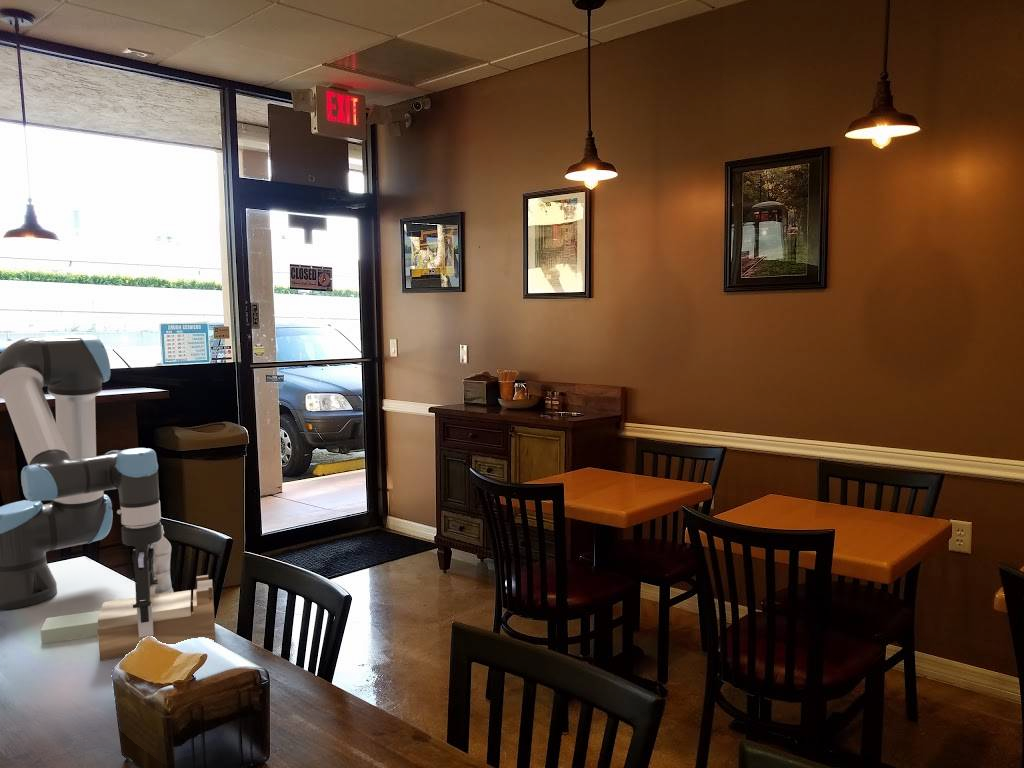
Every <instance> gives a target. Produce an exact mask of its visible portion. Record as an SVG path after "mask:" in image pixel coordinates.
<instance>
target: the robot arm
mask: <svg viewBox="0 0 1024 768" xmlns="http://www.w3.org/2000/svg"><path fill="white" fill-rule="evenodd" d="M111 373H112V372H111V364H110V359H109V355H108V353H107V349H106V347H105V346H104V343H103V342H102V341H101V340H100V338H98V337H97V336H95V335H79V334H77V335H76V334H75V335H64V336H63V335H62V336H61V335H59V336H43V337H27V338H26V337H25V338H22V339H19V340H16V341H15V342H13V343H11V344H10V345H9V346H7V347H6V348H4V350H2V352H1V353H0V398H1V399H3V400H4V402H5V405H6V408H7V411H8V414H9V416H10V417H9V418H10V419H11V422H12V424H13V427H14V431H15V433H16V435H17V438H18V441H19V443H20V444H19V445H20V446H21V449H22V451H23V454H24V457H25V461H26V463H27V465H26V466H24V467H22V470H21V472H20V481H21V487H22V492H23V495H24V497H25V499H23V500H19V501H14V502H11V503H7V504H4V505H2V506H0V610H1V611H2V610H14V609H20V608H25V607H29V606H33V605H37V604H39V603H43V602H46V601H47V600H49V599H51V598H53V597H54V596H56V594H57V592H58V588H57V587H58V585H57V581H56V579H55V577H54V575H53V573H52V571H51V569H50V566H49V564H48V562H47V552H51V551H54V550H60V549H65V548H69V547H71V548H72V547H75V546H79V545H81V546H82V545H85V544H91V543H93V542H97V541H101V540H103V539H105V538H106V537H107V536H108V535H109V533H110V531H111V529H112V525H113V518H114V517H113V512H114V511H113V508H112V507H113V503H112V500H111V498H110V497H109V496H108V494H105V493H104V492H105V491H110V490H118V498H119V509H117V511H116V514H117V515H120V523H121V525H122V527H121V541H122V544H123V545H125V546H128V547H135V549H133V550H132V554H131V560H132V562H133V573H134V581H135V582H134V584H135V586H134V589H135V598H136V604H134V605H133V608H137V617H138V632H139V637H145V636H152V635H154V632H153V617H152V604H151V601H150V596H151V595H155V586H152V585H155V584H158V579H156V580H154V577H155V575H154V569H153V563H154V556H153V555H154V547H152V546H151V543H152V544H153V543H156V542H158V541H159V540H160V539H161V538H162V530H161V525H162V522H161V519H162V511H161V501H160V488H159V487H160V486H159V463H158V457H157V453H156V451H155V450H154V449H152V448H149V447H148V448H146V447H135V448H128V449H123V450H118V449H117V450H115V449H114V450H110V451H107V452H106V453H103V454H102V455H97V434H96V433H97V429H96V427H97V426H96V423H97V421H96V397H97V395H98V394H100V393H101V392H102V390H103V387H102V386H103V383H106V382H108V381H109V380H110V379H111ZM44 387H47V392H48V393H49V395H51V396H52V397H54V399H55V400H54V401H55V402H54V403H55V418H54V415H53V412H52V410H51V408H50V405H49V403H48V400H47V398H46V396H45V393H44V390H43V388H44ZM42 501H51V502H50V503H46V504H43V502H42ZM141 600H145V601H141Z"/></svg>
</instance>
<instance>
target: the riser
mask: <svg viewBox="0 0 1024 768" xmlns="http://www.w3.org/2000/svg"><path fill="white" fill-rule="evenodd" d="M100 612H101V610H95V611H93V610H92V611H87V612H81V613H73V614H67V615H59V616H53V617H52V616H51V617H46V619H45V621H44V623H43V625H42V626H41V629H40V640H41V644H42V645H45V644H53V643H57V642H65V641H70V640H71V641H72V640H79V639H83V638H91V637H98V618H99V615H100Z"/></svg>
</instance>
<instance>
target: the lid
mask: <svg viewBox="0 0 1024 768" xmlns="http://www.w3.org/2000/svg"><path fill="white" fill-rule="evenodd" d="M191 600H192V590H191V589H190V590H189V589H188V590H182V591H173V593H166V594H158V595H151V596H150V601H151V604H152V617H153V621H160V620H167V619H173V618H180V617H187V616H191ZM141 601H145V600H141ZM134 604H136V597H131V598H130V597H129V598H124V599H123V598H122V599H115V600H108V601H104V602H103V603H102V606H101V608H100V611H101V612H100V615H99V618H98V629H106V628H113V627H119V626H126V625H133V624H138V617H137V608H133V605H134Z"/></svg>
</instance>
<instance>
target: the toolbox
mask: <svg viewBox="0 0 1024 768" xmlns="http://www.w3.org/2000/svg"><path fill="white" fill-rule="evenodd" d="M195 579H196V582H197V581H204V580H209V574H206V575H205V574H204V575H196V578H195ZM192 593H193V594H192V599H191V616H187V617H180V618H173V619H167V620H160V621H153V632H154V635H152V636H153V637H155V638H156V639H157V640H158V641H160V642H162V643H166V644H176V643H178V642H181V641H184V640H187V639H191V638H198V637H205V638H209V639H212V640H214V641H216V624H215V623H216V622H215V620H216V619H215V606H214V604H215V603H214V597H213V598H210V599H209V589H208V588H205V589H197V588H196V589H195V588H194V589H193V592H192ZM145 637H147V636H145ZM145 637H139V632H138V624H133V625H126V626H119V627H113V628H106V629H98V636H97V640H98V653H99V661H107V660H113V659H120V658H125V657H124V656H125V655H126V654H128V653H129V652H131V651H132V650H134V649H135V648H136V646H137V644H138V643H139V641H140V640H142V639H143V638H145Z"/></svg>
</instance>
